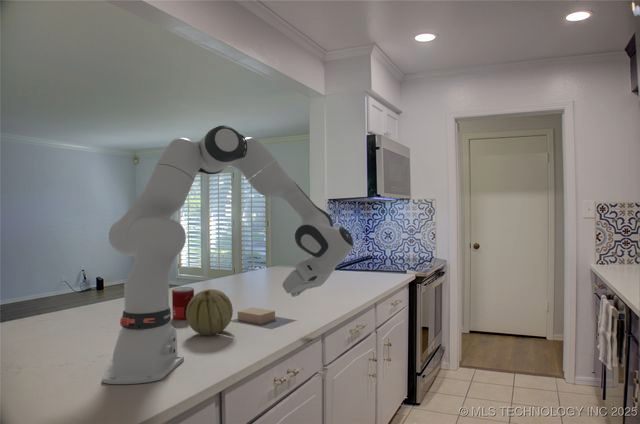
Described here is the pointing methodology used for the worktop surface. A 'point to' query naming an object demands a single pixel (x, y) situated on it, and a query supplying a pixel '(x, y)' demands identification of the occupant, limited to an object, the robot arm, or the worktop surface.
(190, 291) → the canned food
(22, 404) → the worktop surface
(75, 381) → the worktop surface
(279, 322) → the mat
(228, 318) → the cantaloupe
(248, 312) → the block
